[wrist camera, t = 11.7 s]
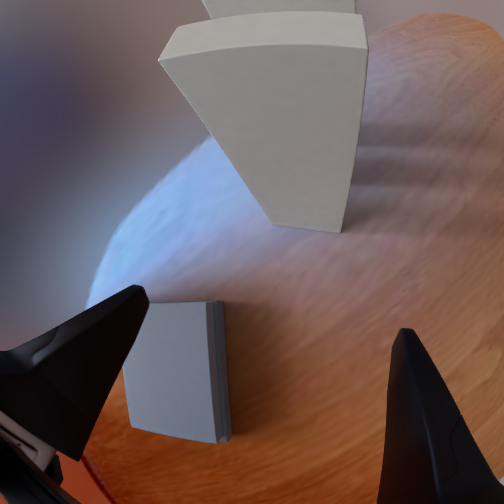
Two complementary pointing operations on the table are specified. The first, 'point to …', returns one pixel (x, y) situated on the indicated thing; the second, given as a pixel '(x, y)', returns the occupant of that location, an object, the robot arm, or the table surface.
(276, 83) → the slim cream book
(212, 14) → the cream books
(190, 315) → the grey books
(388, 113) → the table surface
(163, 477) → the table surface
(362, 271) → the table surface
